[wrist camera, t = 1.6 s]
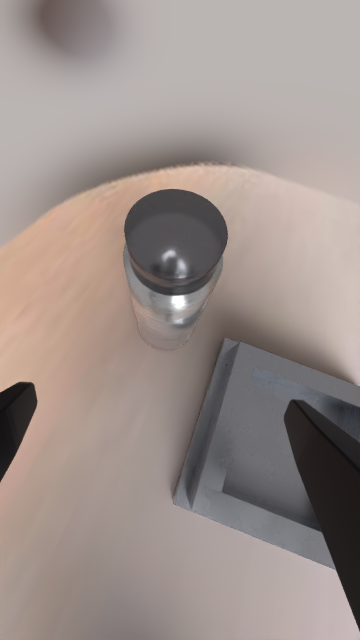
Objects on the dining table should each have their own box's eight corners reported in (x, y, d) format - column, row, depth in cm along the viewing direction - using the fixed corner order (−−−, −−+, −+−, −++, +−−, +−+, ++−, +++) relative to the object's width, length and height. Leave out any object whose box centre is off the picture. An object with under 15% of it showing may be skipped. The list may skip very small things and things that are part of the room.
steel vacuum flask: (203, 334, 23) (256, 252, 11) (154, 360, 22) (151, 302, 9) (176, 290, 24) (196, 170, 12) (129, 313, 23) (97, 206, 11)
